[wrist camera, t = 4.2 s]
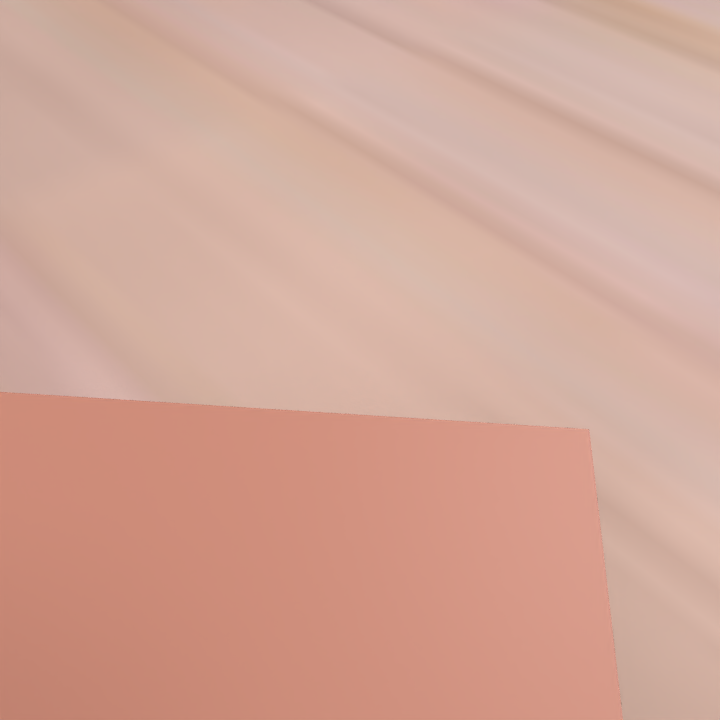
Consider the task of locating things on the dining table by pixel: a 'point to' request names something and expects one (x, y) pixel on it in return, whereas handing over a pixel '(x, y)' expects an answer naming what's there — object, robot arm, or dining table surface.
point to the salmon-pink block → (296, 566)
